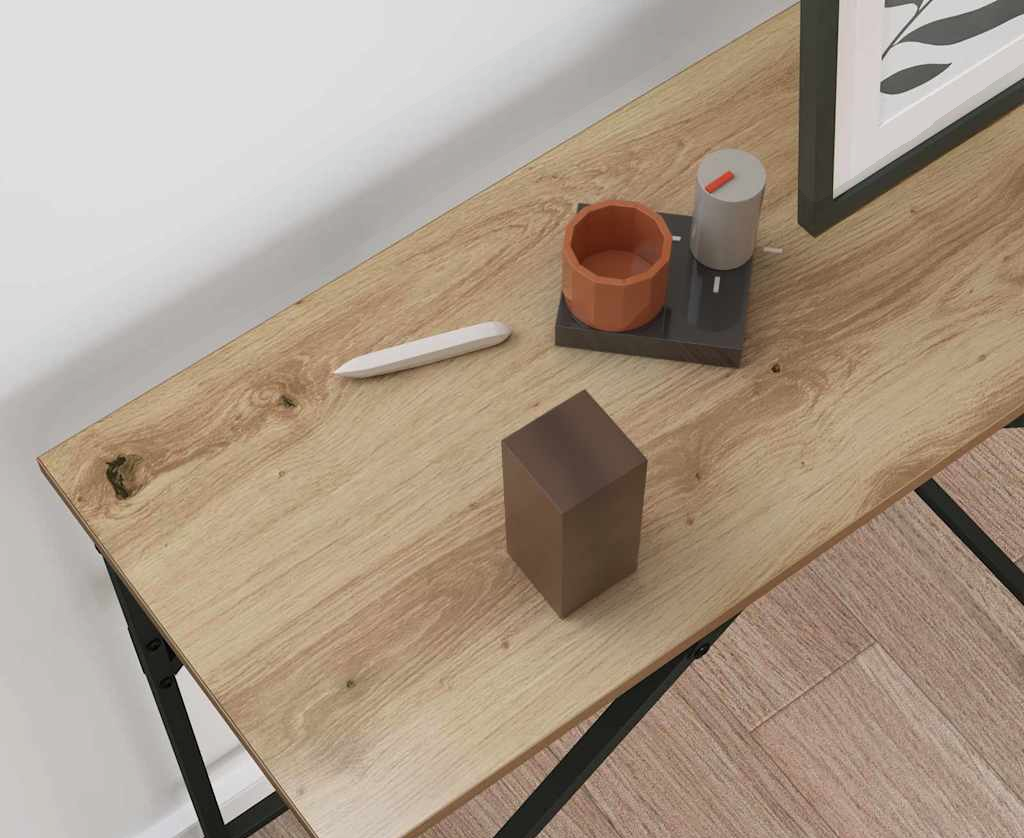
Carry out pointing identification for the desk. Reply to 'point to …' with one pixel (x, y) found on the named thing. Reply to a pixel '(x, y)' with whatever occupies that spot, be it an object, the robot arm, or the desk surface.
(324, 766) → the desk surface
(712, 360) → the stove
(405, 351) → the pen
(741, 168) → the knob
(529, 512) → the stand
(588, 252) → the bowl
